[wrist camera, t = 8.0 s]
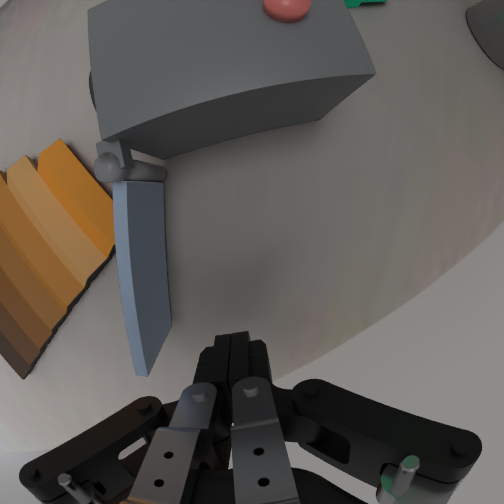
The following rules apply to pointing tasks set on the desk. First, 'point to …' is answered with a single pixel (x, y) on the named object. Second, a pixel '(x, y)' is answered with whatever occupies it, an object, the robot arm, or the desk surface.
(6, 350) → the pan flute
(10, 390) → the desk surface
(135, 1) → the housing
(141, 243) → the door
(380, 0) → the camera mount
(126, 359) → the desk surface
